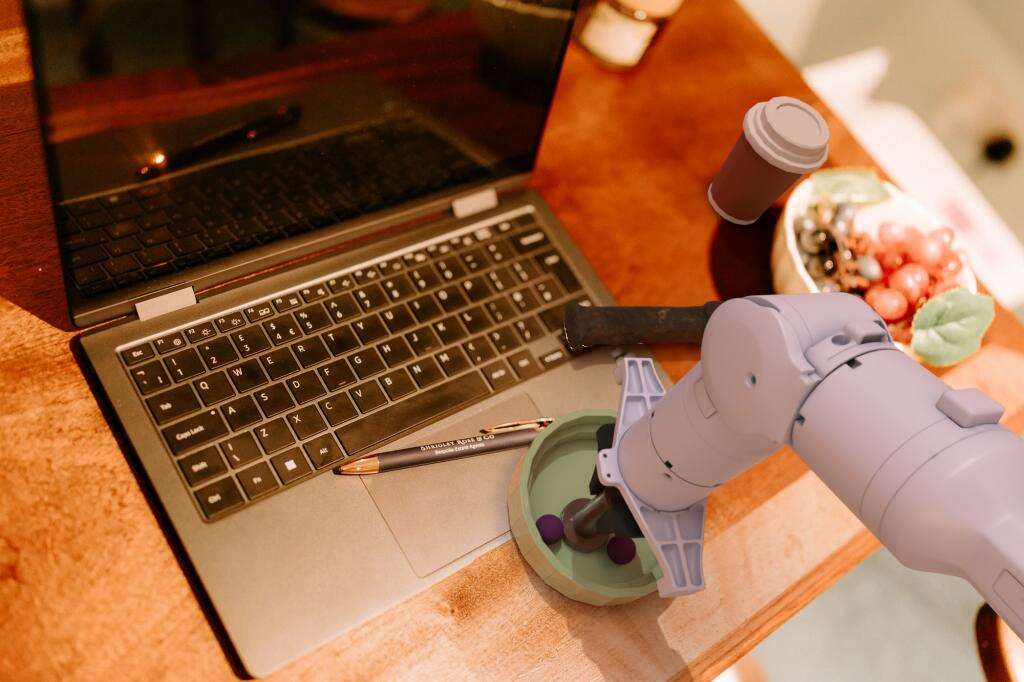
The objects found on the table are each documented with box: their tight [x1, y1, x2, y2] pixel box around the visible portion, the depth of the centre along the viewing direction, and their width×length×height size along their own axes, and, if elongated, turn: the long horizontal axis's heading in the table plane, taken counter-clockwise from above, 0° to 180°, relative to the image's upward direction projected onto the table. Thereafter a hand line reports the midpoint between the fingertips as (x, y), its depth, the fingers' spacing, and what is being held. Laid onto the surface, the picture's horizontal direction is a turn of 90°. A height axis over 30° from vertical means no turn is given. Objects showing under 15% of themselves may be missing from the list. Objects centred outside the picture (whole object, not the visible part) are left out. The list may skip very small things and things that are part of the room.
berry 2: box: [607, 536, 636, 565], centre depth 53 cm, size 2×2×2 cm
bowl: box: [507, 408, 663, 607], centre depth 54 cm, size 14×14×4 cm
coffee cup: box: [707, 95, 831, 226], centre depth 73 cm, size 9×9×12 cm
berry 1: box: [535, 514, 564, 545], centre depth 52 cm, size 2×2×2 cm
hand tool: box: [561, 300, 725, 351], centre depth 64 cm, size 19×4×5 cm, turn 97°
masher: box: [559, 486, 623, 552], centre depth 51 cm, size 4×4×8 cm
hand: (605, 508), depth 50 cm, fingers closed on masher, 2 cm apart
